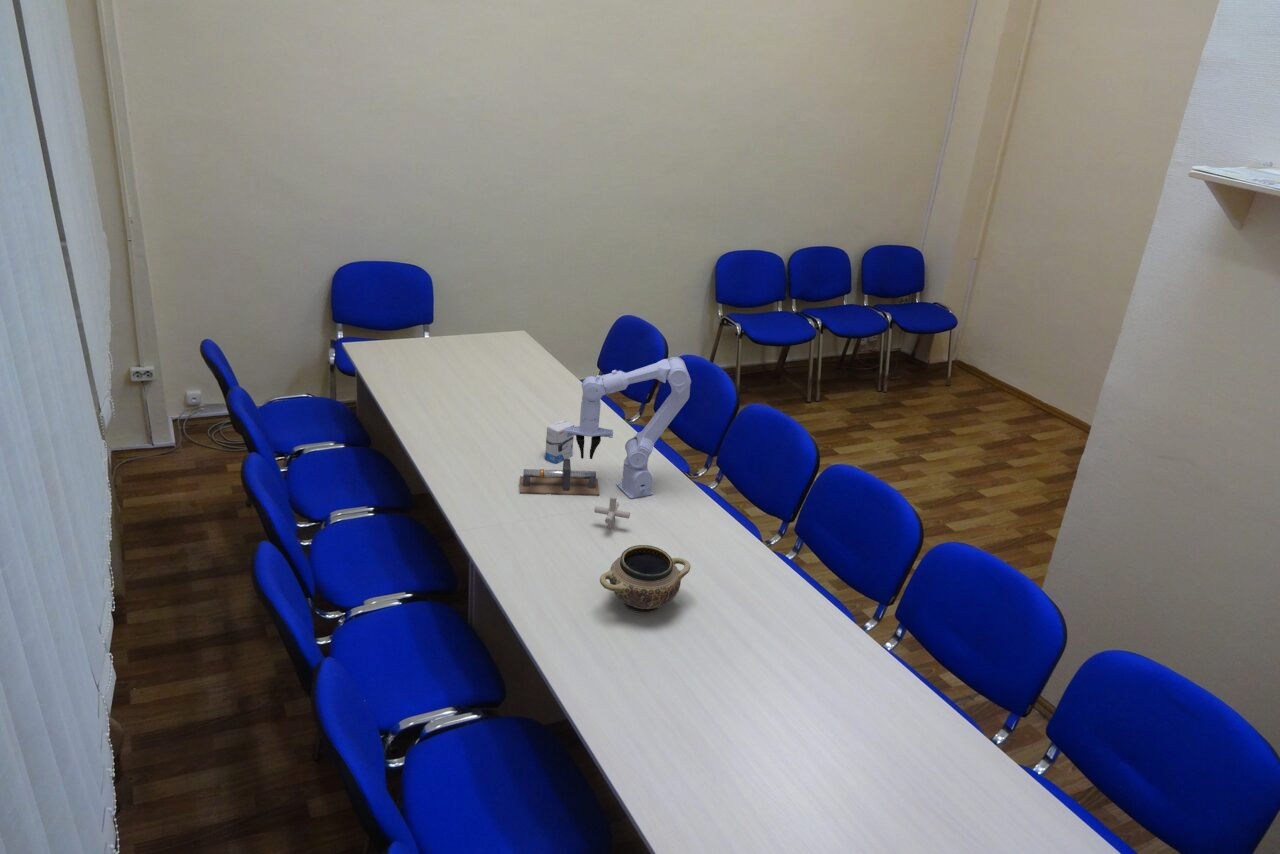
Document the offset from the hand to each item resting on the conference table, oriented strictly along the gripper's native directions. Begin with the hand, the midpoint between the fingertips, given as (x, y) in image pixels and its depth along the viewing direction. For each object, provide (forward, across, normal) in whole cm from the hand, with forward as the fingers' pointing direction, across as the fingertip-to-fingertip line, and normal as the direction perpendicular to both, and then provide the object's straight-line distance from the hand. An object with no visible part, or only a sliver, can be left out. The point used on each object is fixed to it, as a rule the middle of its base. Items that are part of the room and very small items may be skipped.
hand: (586, 457), depth 279 cm
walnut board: (+10, +8, 0) cm, 13 cm away
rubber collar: (+10, +6, 0) cm, 12 cm away
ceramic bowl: (+10, -12, +59) cm, 61 cm away
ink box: (+11, +7, -20) cm, 23 cm away
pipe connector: (+10, -7, +23) cm, 26 cm away
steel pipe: (+10, +8, 0) cm, 13 cm away
